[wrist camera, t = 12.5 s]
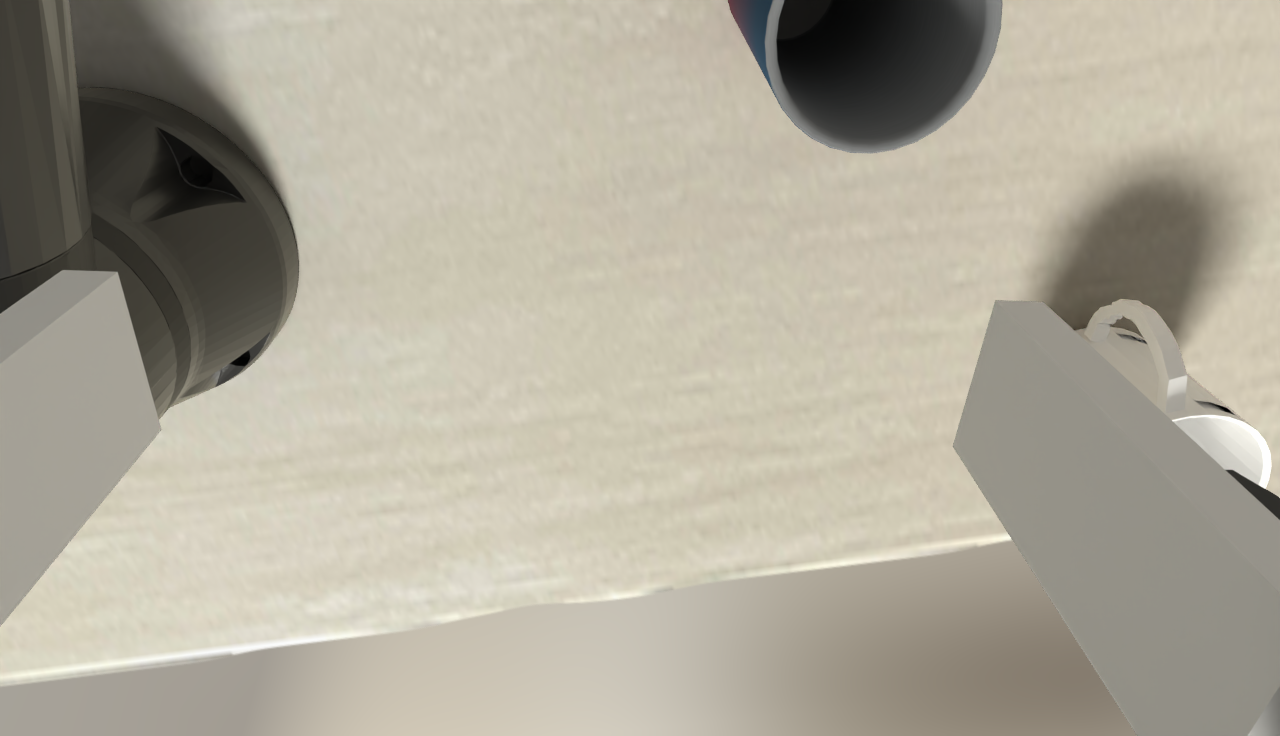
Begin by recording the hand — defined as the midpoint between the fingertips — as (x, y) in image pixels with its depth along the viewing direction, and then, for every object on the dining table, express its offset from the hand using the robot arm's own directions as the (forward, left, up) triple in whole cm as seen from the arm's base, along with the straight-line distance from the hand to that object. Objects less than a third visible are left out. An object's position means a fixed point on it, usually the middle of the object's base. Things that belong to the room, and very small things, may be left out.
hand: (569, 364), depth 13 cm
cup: (+8, +3, -29) cm, 30 cm away
